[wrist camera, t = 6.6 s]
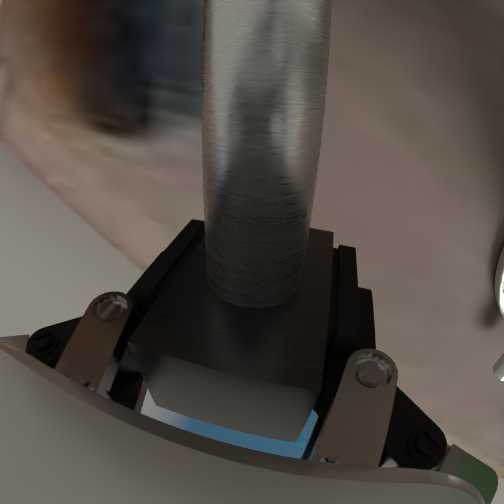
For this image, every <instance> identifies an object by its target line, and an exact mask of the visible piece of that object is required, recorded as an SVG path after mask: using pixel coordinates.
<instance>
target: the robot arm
mask: <svg viewBox="0 0 504 504" xmlns="http://www.w3.org/2000/svg"><path fill="white" fill-rule="evenodd" d="M204 235H205V223H204V221H200V220H194V219H192V220H191V221H190V222H189V223H188V224H187V225H186V226H185V228H184V229H183V230H182V231H181V232H180V233H179V234H178V236H177V237H176V238H175V239H174V240H173V241H172V242H171V244H170V245H169V246H168V247H167V248H166V249H165V250H164V251H163V252H161V253H160V255H159V256H158V257H157V258H156V259H155V260H154V262H153V263H152V264H151V265H150V266H149V267H148V269H147V270H146V271H145V272H144V273H143V275H142V276H141V277H140V278H139V279H138V281H137V282H136V283H135V284H134V286H133V287H132V288H131V289H130V290H129V292H128V293H127V294H124V293H121V292H107V293H104V294H101V295H99V296H98V297H96V298H95V299H94V300H93V301H92V302H91V303H90V305H89V306H88V308H87V310H86V311H85V313H84V315H83V316H82V317H79V318H75V319H72V320H68V321H65V322H61V323H58V324H54V325H51V326H48V327H44V328H42V329H39V330H37V331H36V332H35V333H33V334H32V336H31V337H30V335H29V334H28V335H18V336H9V337H0V504H490V503H491V502H492V499H493V497H494V495H495V493H496V490H497V486H498V477H497V475H496V472H495V471H494V470H493V469H492V468H491V467H489V466H488V465H486V464H484V463H483V462H481V461H480V460H478V459H476V458H475V457H473V456H472V455H470V454H469V453H467V452H465V451H464V450H462V449H461V448H459V447H458V446H456V445H455V444H453V445H451V446H449V445H448V444H447V441H446V438H445V435H444V433H443V432H442V430H441V429H440V428H439V427H438V426H437V425H436V424H435V423H434V422H433V421H432V420H431V419H430V418H429V417H428V416H427V415H426V414H425V413H424V412H423V411H422V410H421V409H420V408H419V407H418V406H417V405H416V404H415V403H414V402H413V401H412V400H411V399H410V398H409V397H408V396H407V395H405V394H404V393H403V392H402V391H401V390H400V389H399V388H398V387H397V379H398V370H397V367H396V365H395V363H394V362H393V360H392V359H391V358H390V357H389V356H388V355H386V354H385V353H384V352H381V351H379V350H376V343H375V325H374V311H373V300H372V292H371V290H370V289H365V288H360V287H358V279H357V263H356V249H355V248H354V247H349V246H344V245H339V247H338V249H336V248H333V261H332V281H331V297H330V310H329V323H328V334H327V344H326V354H325V363H324V371H323V379H322V387H321V392H320V394H319V396H318V399H317V401H316V403H315V405H314V407H313V410H314V411H315V412H316V413H317V415H318V417H317V420H316V422H315V425H314V427H313V430H312V432H311V434H310V437H309V439H308V441H307V444H306V446H305V448H304V450H303V453H302V455H301V457H300V459H297V458H291V457H285V456H280V455H275V454H270V453H265V452H260V451H255V450H252V449H247V448H243V447H239V446H235V445H232V444H228V443H224V442H220V441H217V440H214V439H210V438H207V437H203V436H200V435H197V434H194V433H191V432H188V431H185V430H182V429H179V428H177V427H174V426H171V425H168V424H166V423H163V422H160V421H158V420H155V419H153V418H150V417H148V416H145V415H143V414H141V409H142V406H143V402H144V399H145V395H146V392H147V385H146V383H145V381H144V379H143V377H142V375H141V372H140V370H139V368H138V366H137V363H136V361H135V359H134V356H133V354H132V352H131V349H130V347H129V345H128V342H127V341H128V340H129V338H130V337H131V335H132V334H133V332H134V331H135V330H136V328H137V327H138V325H139V324H140V322H141V321H142V319H143V318H144V316H145V315H146V314H147V312H148V311H149V309H150V308H151V306H152V305H153V304H154V302H155V301H156V299H157V298H158V297H159V295H160V294H161V292H162V291H164V290H165V289H166V287H167V286H168V285H169V283H170V282H171V280H172V279H173V278H174V276H175V275H176V273H177V272H178V271H179V269H180V268H181V267H182V265H183V264H184V262H185V261H186V260H187V258H188V257H189V256H190V254H191V253H192V252H193V250H194V249H195V248H196V246H197V245H198V244H199V242H200V241H201V239H202V238H203V237H204ZM494 289H495V299H496V302H497V305H498V308H499V310H500V312H501V314H502V316H503V318H504V246H503V249H502V252H501V255H500V257H499V261H498V265H497V270H496V274H495V286H494ZM493 371H494V374H495V376H496V377H497V378H498V379H499V380H501V381H504V353H503V354H502V356H501V357H500V358H499V359H498V360H497V362H496V363H495V364H494V365H493Z"/></svg>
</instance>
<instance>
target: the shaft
mask: <svg viewBox="0 0 504 504" xmlns="http://www.w3.org/2000/svg"><path fill="white" fill-rule="evenodd" d="M331 4H332V0H205V1H204V22H203V51H202V167H203V199H204V223H205V235H204V237H203V238H202V239H201V241H200V242H199V244H198V245H197V246H196V248H195V249H194V250H193V252H192V253H191V254H190V256H189V257H188V258H187V260H186V261H185V262H184V264H183V265H182V267H181V268H180V269H179V271H178V272H177V273H176V275H175V276H174V278H173V279H172V280H171V282H170V283H169V285H168V286H167V287H166V289H165V290H164V291H162V292H161V294H160V295H159V297H158V298H157V299H156V301H155V302H154V304H153V305H152V306H151V308H150V309H149V311H148V312H147V314H146V315H145V316H144V318H143V319H142V321H141V322H140V324H139V325H138V327H137V328H136V330H135V331H134V332H133V334H132V335H131V337H130V338H129V340H128V341H127V342H128V345H129V347H130V349H131V352H132V354H133V356H134V359H135V361H136V363H137V366H138V368H139V370H140V372H141V375H142V377H143V379H144V381H145V383H146V385H147V388H148V390H149V392H150V393H151V396H152V398H153V400H154V402H155V404H156V405H157V406H160V407H162V408H165V409H168V410H171V411H174V412H177V413H180V414H182V415H185V416H188V417H192V418H194V419H198V420H201V421H204V422H208V423H211V424H214V425H218V426H222V427H226V428H229V429H233V430H237V431H241V432H245V433H249V434H254V435H258V436H263V437H268V438H273V439H278V440H283V441H289V442H295V443H296V441H297V439H298V437H299V435H300V433H301V431H302V429H303V427H304V425H305V423H306V421H307V419H308V417H309V415H310V413H311V411H312V409H313V407H314V405H315V403H316V401H317V399H318V396H319V394H320V392H321V387H322V379H323V371H324V363H325V354H326V344H327V334H328V323H329V310H330V297H331V281H332V261H333V232H330V231H324V230H318V229H313V228H310V222H311V215H312V208H313V201H314V194H315V187H316V179H317V172H318V164H319V155H320V147H321V138H322V129H323V119H324V109H325V98H326V87H327V75H328V61H329V46H330V28H331Z"/></svg>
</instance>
